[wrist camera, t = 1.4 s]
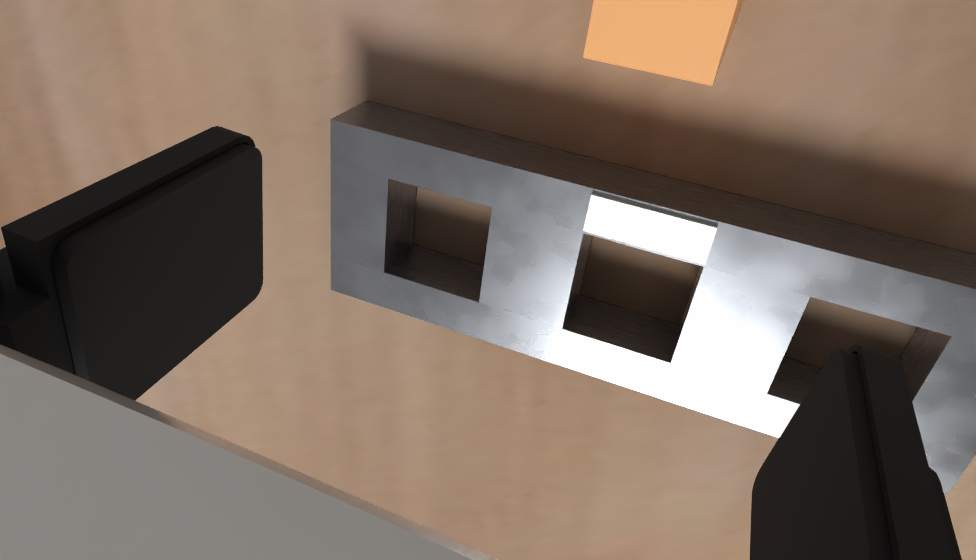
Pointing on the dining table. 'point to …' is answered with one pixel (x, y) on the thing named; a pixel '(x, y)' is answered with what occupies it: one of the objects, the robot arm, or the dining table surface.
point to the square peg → (663, 35)
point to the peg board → (658, 229)
